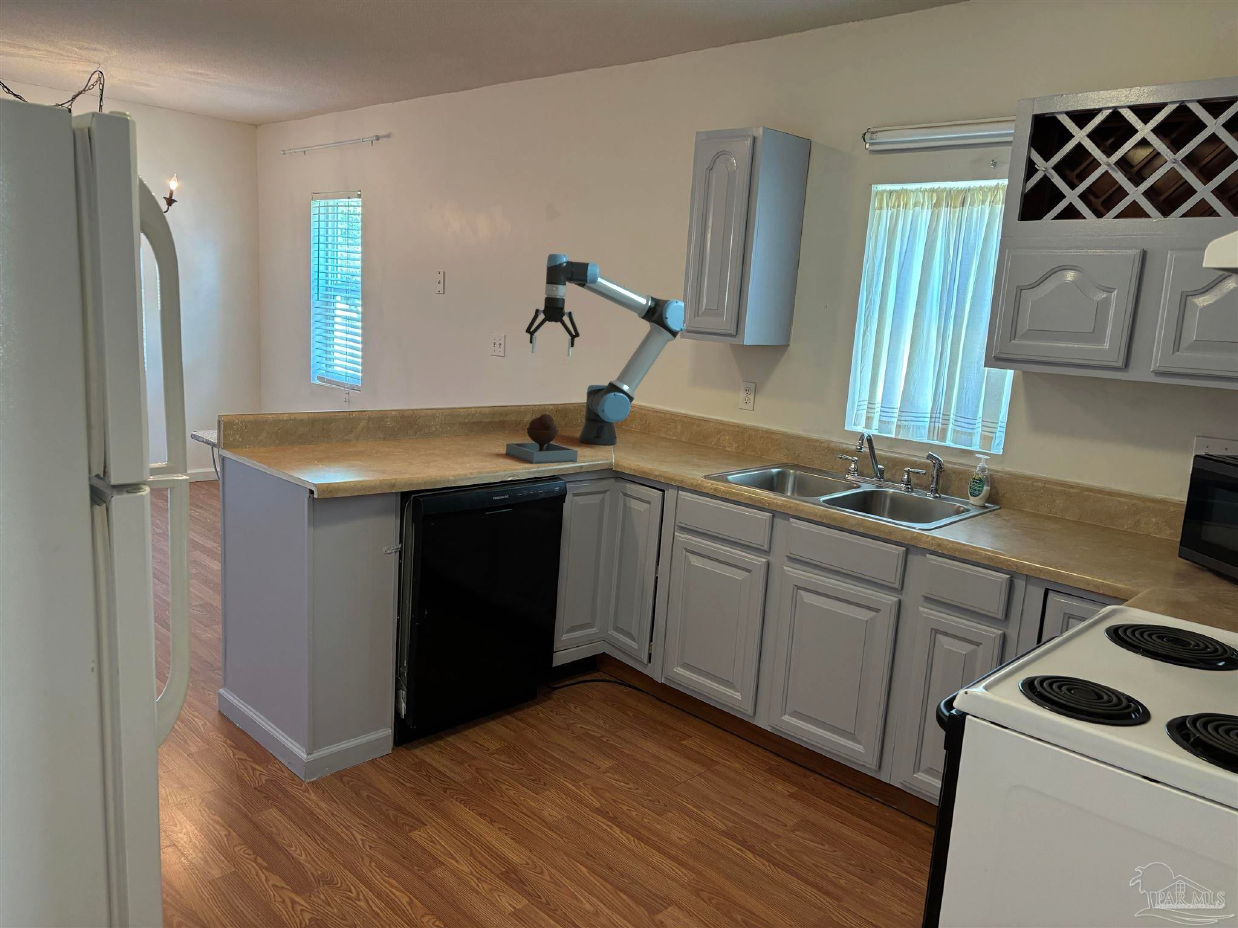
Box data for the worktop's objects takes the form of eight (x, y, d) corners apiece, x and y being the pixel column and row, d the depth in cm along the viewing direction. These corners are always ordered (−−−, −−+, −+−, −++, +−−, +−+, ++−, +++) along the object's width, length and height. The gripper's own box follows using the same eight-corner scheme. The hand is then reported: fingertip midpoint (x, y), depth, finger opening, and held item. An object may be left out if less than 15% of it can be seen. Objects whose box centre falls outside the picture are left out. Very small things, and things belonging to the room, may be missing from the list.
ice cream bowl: (558, 454, 313) (561, 413, 310) (553, 459, 302) (556, 416, 299) (528, 452, 313) (531, 410, 311) (523, 457, 302) (525, 413, 300)
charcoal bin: (548, 452, 320) (549, 441, 320) (576, 461, 306) (577, 450, 306) (505, 454, 309) (506, 443, 308) (533, 464, 295) (533, 452, 295)
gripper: (519, 294, 323) (516, 352, 326) (586, 299, 320) (582, 357, 324) (524, 294, 330) (520, 351, 334) (589, 299, 327) (585, 357, 331)
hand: (551, 354), depth 329 cm, fingers open, 13 cm apart
